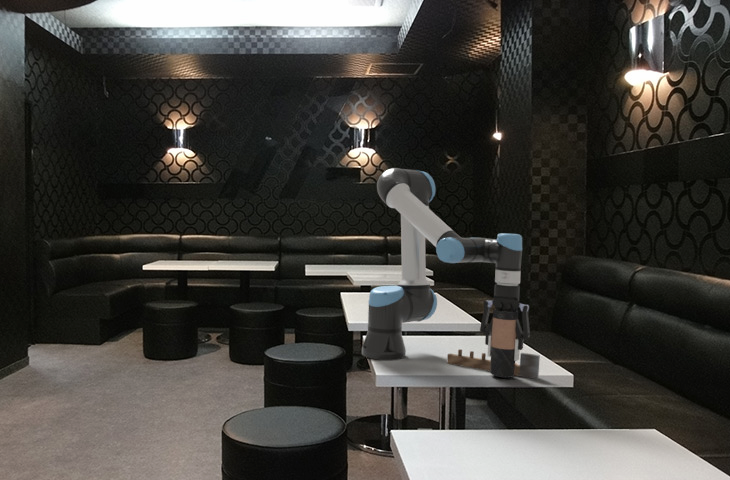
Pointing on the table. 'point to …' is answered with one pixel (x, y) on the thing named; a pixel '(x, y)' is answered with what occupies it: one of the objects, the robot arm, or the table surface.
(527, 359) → the comb rail
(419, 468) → the table surface
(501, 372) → the travel mug
